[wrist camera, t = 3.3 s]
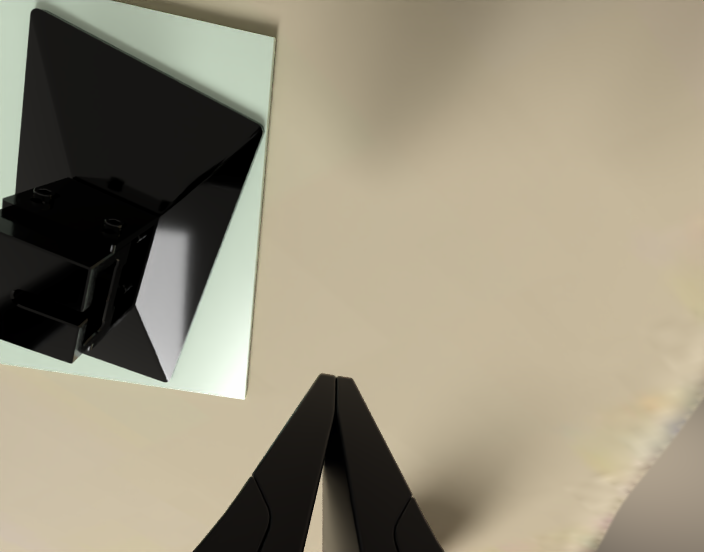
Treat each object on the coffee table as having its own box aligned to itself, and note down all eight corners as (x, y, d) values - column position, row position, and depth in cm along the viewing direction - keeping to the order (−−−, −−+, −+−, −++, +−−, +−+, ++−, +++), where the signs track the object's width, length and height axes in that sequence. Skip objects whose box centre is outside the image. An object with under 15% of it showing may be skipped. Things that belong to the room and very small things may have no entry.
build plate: (172, 377, 17) (115, 469, 13) (6, 316, 16) (-119, 400, 12) (268, 126, 12) (220, 150, 8) (29, 0, 10) (-183, -51, 6)
